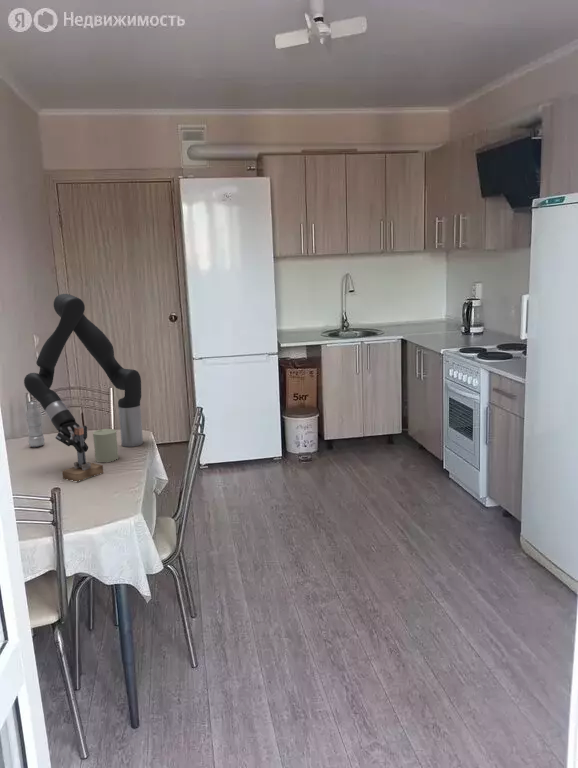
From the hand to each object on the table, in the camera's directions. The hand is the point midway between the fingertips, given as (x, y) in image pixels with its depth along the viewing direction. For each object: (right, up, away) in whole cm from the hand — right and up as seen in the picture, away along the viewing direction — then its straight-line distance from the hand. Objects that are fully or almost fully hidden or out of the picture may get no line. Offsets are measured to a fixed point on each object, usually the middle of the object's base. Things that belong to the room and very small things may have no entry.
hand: (84, 451), depth 230 cm
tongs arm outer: (-2, -6, +2) cm, 7 cm away
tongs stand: (-1, -10, +3) cm, 10 cm away
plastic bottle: (-35, -3, +43) cm, 56 cm away
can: (+2, -6, +22) cm, 23 cm away
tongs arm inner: (-1, -6, +3) cm, 7 cm away
